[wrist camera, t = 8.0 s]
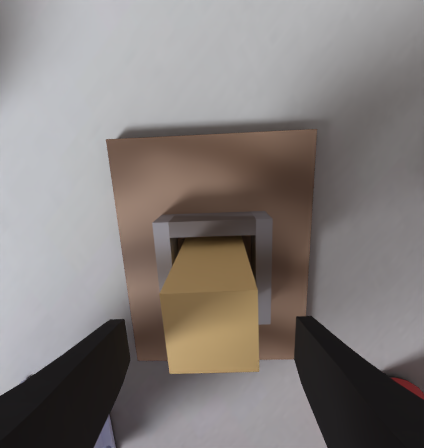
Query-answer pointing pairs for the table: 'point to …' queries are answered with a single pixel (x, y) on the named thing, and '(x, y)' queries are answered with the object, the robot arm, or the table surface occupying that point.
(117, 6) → the table surface
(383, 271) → the table surface
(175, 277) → the peg
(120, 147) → the socket board
